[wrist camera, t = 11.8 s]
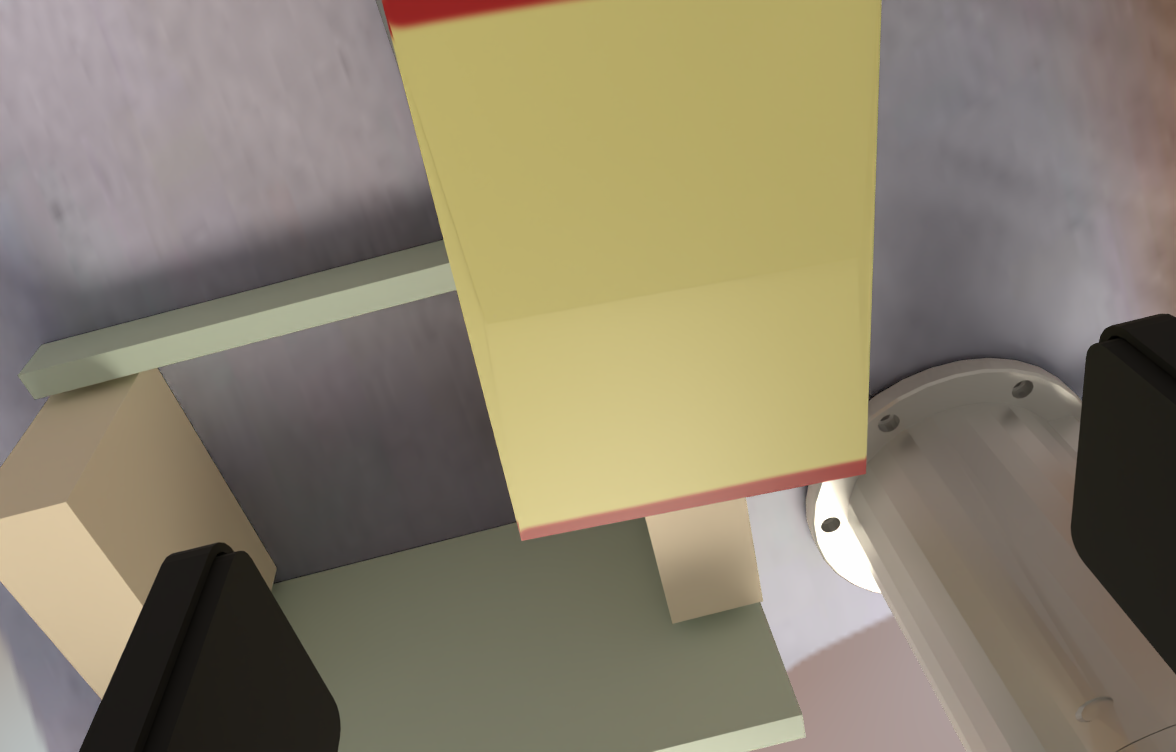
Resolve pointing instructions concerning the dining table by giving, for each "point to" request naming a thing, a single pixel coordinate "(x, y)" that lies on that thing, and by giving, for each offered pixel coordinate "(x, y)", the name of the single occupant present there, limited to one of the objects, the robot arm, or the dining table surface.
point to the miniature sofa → (388, 563)
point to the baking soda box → (655, 239)
